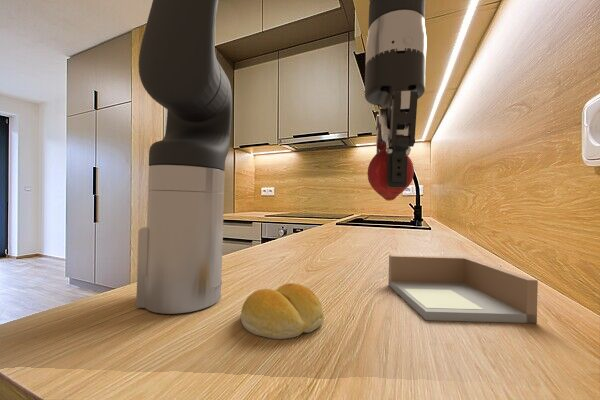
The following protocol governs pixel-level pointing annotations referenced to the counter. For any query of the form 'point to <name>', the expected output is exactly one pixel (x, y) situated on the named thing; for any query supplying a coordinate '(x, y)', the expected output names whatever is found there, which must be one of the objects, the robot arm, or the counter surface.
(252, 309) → the bread roll
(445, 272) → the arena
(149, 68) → the robot arm
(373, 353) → the counter surface
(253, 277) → the counter surface
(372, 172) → the onion
